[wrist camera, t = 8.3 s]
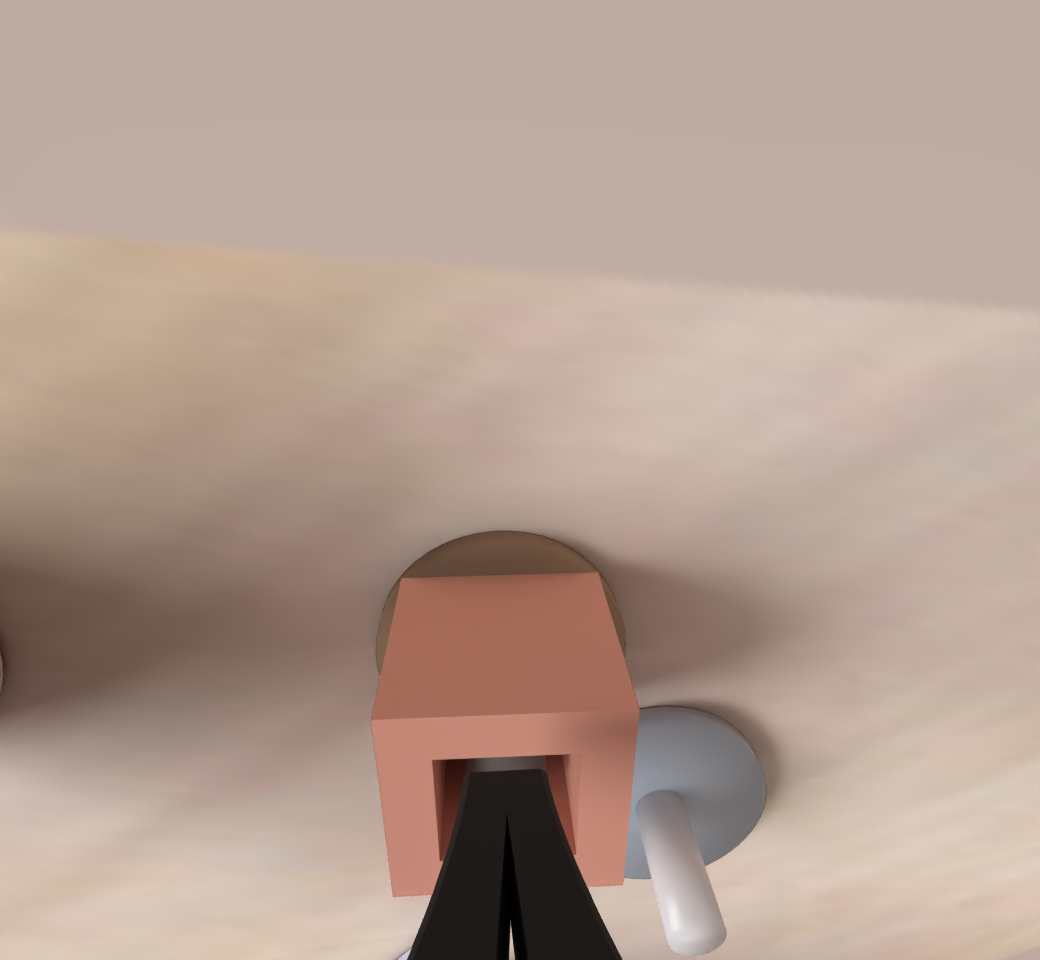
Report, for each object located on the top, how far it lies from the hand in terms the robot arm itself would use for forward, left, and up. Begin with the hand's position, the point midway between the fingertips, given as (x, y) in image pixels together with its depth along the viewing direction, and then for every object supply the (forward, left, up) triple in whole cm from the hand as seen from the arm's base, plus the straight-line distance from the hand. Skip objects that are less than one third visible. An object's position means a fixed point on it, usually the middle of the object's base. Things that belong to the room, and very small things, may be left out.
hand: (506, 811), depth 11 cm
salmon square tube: (-2, -1, -7) cm, 7 cm away
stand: (-3, -9, -8) cm, 12 cm away
